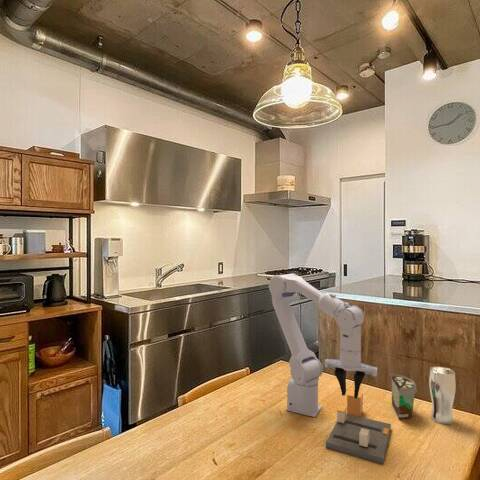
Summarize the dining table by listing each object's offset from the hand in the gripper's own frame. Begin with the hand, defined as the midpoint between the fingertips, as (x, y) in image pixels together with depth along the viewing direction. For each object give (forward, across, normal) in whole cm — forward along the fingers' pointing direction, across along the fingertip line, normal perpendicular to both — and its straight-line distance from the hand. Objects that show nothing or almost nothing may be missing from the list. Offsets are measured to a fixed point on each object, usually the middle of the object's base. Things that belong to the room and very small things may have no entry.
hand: (350, 395), depth 103 cm
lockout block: (+10, 0, +10) cm, 14 cm away
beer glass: (+10, +24, +18) cm, 31 cm away
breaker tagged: (+8, -2, 0) cm, 8 cm away
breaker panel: (+9, +4, -4) cm, 11 cm away
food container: (+10, +14, +18) cm, 24 cm away
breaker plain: (+8, +6, -9) cm, 13 cm away
